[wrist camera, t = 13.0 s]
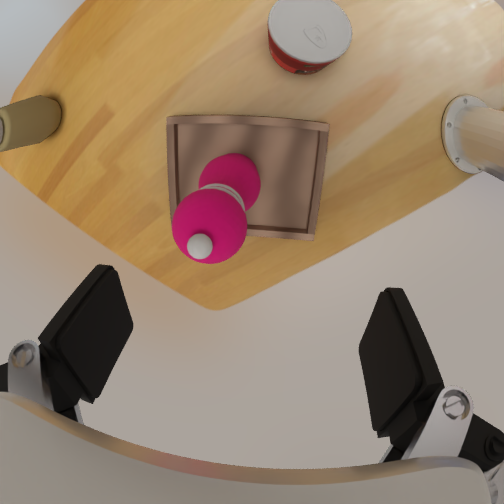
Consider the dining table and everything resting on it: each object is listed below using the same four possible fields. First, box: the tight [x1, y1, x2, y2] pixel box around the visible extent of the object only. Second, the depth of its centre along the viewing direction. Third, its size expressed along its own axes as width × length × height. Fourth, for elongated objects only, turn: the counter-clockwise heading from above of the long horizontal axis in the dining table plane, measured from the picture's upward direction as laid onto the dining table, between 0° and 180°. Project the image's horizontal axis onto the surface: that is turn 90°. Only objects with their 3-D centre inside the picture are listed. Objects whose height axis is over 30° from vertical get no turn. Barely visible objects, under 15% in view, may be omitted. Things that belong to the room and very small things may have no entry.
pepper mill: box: [172, 153, 261, 264], centre depth 27 cm, size 7×7×20 cm
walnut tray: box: [167, 115, 329, 241], centre depth 35 cm, size 20×16×2 cm
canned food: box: [268, 0, 352, 74], centre depth 22 cm, size 8×8×11 cm
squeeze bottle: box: [0, 95, 61, 152], centre depth 24 cm, size 8×8×18 cm
